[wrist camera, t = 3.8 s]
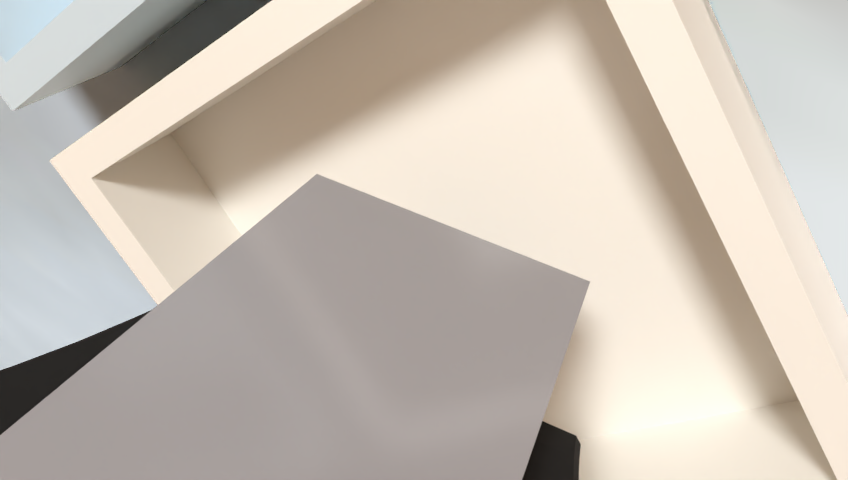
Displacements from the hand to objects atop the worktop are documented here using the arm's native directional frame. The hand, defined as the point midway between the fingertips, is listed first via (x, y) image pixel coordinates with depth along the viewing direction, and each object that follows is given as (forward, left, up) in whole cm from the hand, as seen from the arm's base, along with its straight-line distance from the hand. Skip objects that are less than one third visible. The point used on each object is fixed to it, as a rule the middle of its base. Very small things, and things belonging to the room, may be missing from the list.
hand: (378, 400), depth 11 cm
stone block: (0, 0, -2) cm, 2 cm away
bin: (0, 0, -5) cm, 5 cm away
